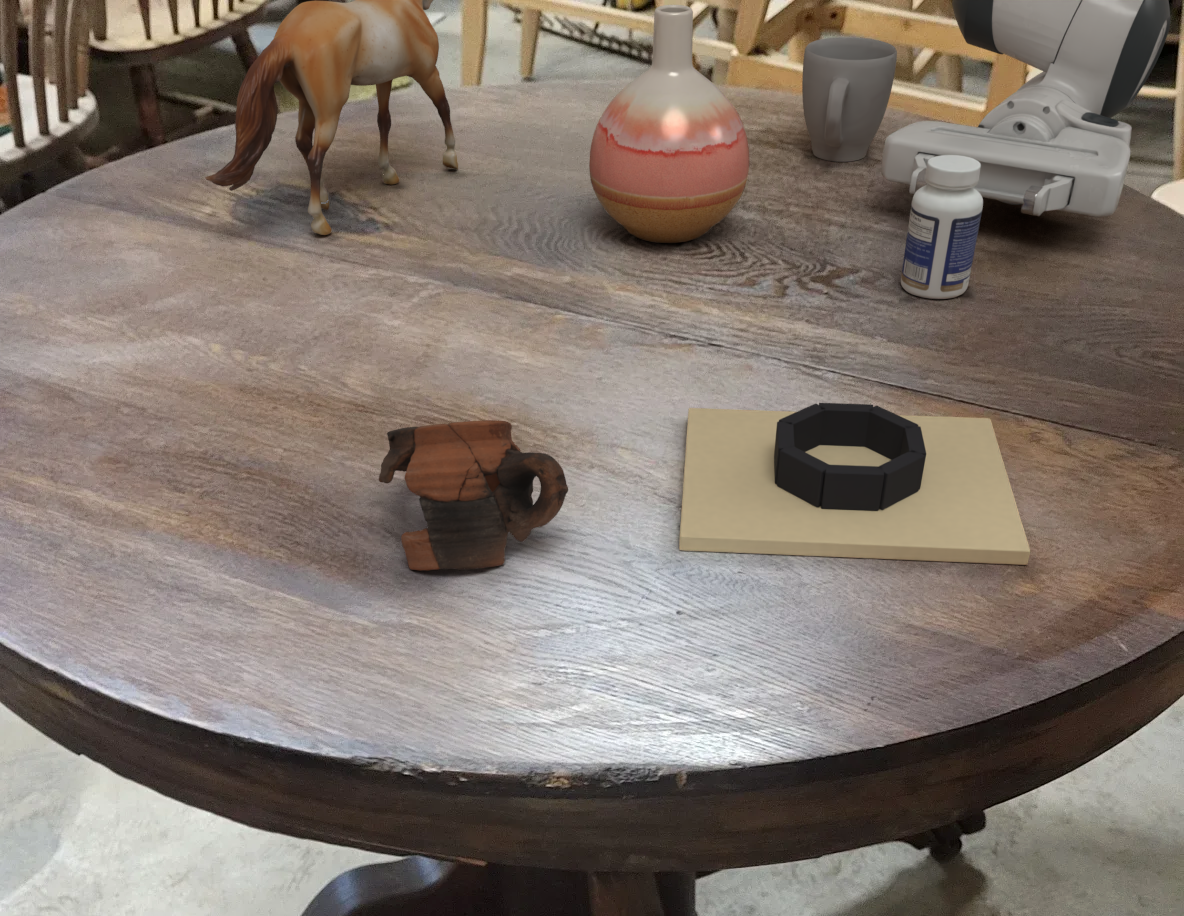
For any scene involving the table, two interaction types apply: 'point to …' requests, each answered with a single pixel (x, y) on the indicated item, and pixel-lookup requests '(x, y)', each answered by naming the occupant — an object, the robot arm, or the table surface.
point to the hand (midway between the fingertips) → (973, 194)
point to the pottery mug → (471, 491)
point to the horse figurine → (335, 83)
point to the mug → (846, 94)
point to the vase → (669, 144)
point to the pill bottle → (943, 229)
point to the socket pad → (848, 486)
